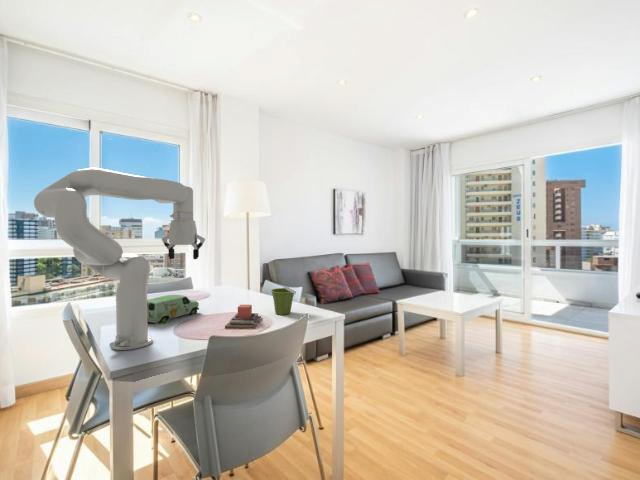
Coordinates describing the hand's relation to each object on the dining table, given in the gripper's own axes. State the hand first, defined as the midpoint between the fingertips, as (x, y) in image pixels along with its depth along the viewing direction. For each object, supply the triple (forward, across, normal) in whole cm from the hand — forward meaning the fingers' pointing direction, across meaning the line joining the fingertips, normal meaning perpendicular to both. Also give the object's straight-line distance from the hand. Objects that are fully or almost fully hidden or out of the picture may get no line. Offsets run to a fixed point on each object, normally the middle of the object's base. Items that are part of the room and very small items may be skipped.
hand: (183, 258), depth 135 cm
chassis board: (+28, +23, +7) cm, 37 cm away
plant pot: (+28, +38, +24) cm, 53 cm away
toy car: (+29, -12, +15) cm, 35 cm away
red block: (+27, +23, +9) cm, 37 cm away
